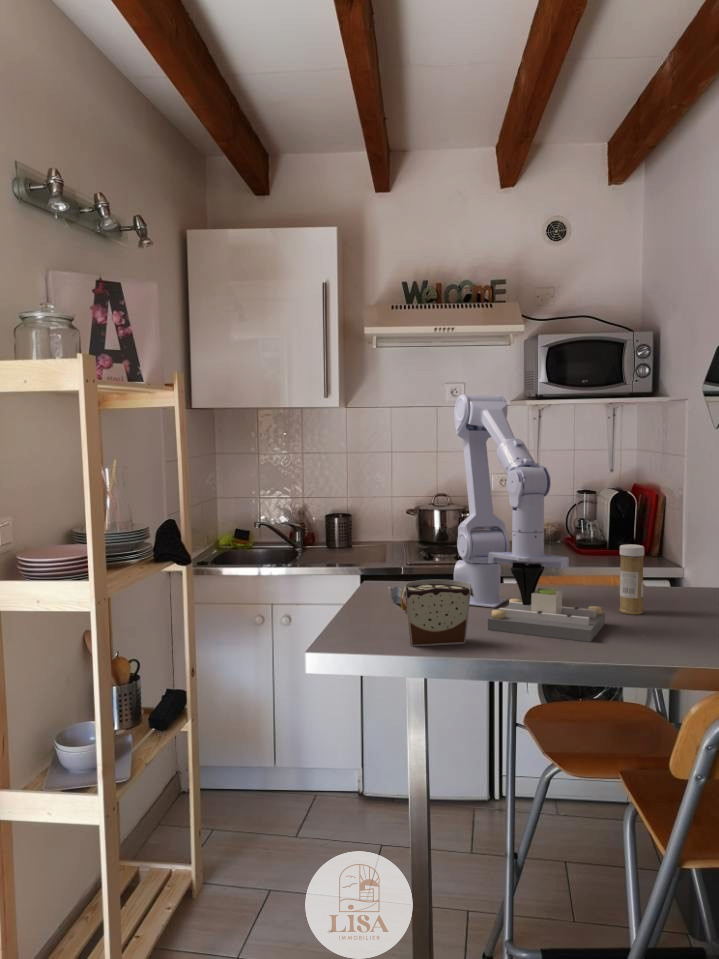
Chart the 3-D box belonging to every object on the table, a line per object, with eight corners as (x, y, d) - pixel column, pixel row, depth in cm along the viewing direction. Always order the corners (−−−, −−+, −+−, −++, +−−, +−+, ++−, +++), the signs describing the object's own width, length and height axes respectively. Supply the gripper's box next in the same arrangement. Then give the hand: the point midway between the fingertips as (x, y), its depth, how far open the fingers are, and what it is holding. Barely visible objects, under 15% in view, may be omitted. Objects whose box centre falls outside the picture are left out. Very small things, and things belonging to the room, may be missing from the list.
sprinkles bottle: (648, 613, 142) (649, 545, 141) (634, 616, 139) (634, 547, 138) (628, 609, 145) (629, 543, 145) (614, 611, 143) (614, 545, 142)
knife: (385, 597, 158) (385, 575, 157) (391, 597, 158) (391, 574, 158) (413, 624, 133) (413, 598, 133) (420, 624, 134) (421, 597, 133)
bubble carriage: (531, 615, 130) (531, 590, 130) (538, 610, 134) (538, 586, 134) (555, 618, 128) (555, 592, 128) (561, 612, 132) (562, 588, 132)
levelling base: (487, 629, 129) (487, 611, 129) (510, 613, 142) (510, 596, 142) (590, 642, 121) (590, 622, 121) (604, 623, 133) (605, 605, 133)
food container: (462, 633, 127) (462, 577, 126) (473, 643, 121) (474, 584, 120) (394, 637, 125) (394, 580, 124) (402, 646, 118) (402, 587, 118)
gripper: (483, 531, 132) (483, 604, 133) (562, 535, 125) (562, 612, 126) (495, 527, 138) (494, 597, 139) (571, 531, 131) (571, 604, 132)
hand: (527, 604), depth 133 cm, fingers closed
